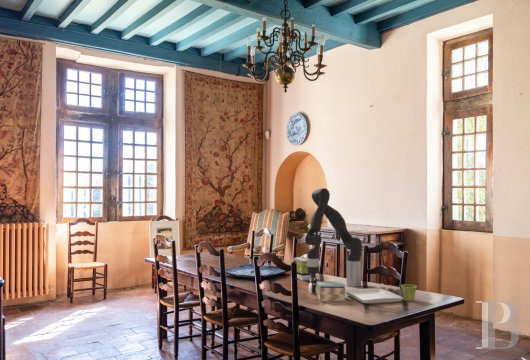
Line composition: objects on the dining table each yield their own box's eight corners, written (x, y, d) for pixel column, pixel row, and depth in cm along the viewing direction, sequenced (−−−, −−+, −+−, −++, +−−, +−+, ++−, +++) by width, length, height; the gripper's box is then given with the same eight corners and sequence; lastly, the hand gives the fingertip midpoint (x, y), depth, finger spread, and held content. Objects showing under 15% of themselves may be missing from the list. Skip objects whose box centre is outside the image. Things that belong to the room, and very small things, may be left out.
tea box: (292, 277, 350) (292, 257, 350) (303, 276, 354) (303, 256, 355) (301, 280, 337) (302, 260, 337) (313, 279, 341) (314, 259, 341)
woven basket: (340, 296, 289) (340, 283, 289) (345, 301, 276) (345, 287, 276) (316, 296, 288) (316, 283, 288) (319, 301, 275) (319, 287, 275)
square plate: (362, 306, 266) (362, 299, 266) (342, 295, 292) (342, 289, 292) (404, 303, 273) (404, 296, 273) (380, 293, 300) (380, 287, 300)
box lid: (340, 283, 289) (340, 281, 289) (345, 286, 276) (345, 285, 276) (316, 283, 288) (316, 281, 288) (319, 286, 275) (319, 285, 275)
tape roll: (316, 292, 300) (316, 283, 301) (318, 294, 295) (318, 285, 295) (308, 292, 300) (308, 283, 300) (309, 294, 295) (309, 285, 295)
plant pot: (405, 297, 286) (405, 283, 286) (419, 300, 279) (419, 285, 279) (397, 300, 280) (397, 285, 280) (411, 303, 273) (411, 288, 273)
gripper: (320, 267, 291) (320, 294, 290) (317, 263, 305) (317, 289, 305) (308, 267, 291) (308, 294, 290) (305, 263, 305) (305, 289, 305)
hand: (313, 291), depth 298 cm, fingers closed on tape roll, 5 cm apart
